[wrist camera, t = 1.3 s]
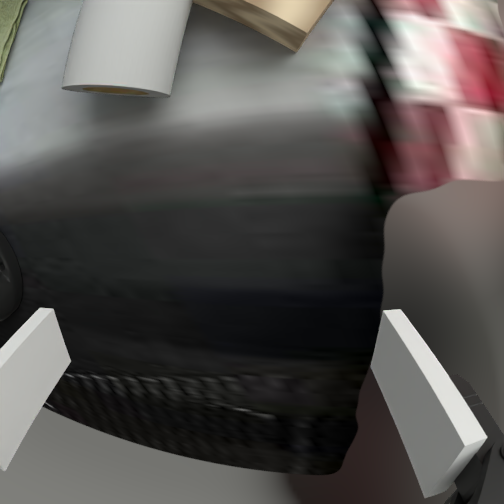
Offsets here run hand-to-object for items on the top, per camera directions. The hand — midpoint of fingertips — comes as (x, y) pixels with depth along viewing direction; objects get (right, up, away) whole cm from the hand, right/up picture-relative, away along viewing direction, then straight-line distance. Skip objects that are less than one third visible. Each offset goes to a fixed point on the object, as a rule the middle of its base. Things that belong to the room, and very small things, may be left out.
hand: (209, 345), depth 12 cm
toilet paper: (-9, +24, +15) cm, 30 cm away
